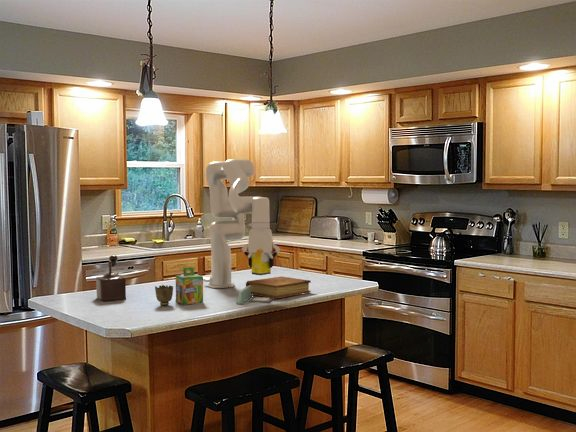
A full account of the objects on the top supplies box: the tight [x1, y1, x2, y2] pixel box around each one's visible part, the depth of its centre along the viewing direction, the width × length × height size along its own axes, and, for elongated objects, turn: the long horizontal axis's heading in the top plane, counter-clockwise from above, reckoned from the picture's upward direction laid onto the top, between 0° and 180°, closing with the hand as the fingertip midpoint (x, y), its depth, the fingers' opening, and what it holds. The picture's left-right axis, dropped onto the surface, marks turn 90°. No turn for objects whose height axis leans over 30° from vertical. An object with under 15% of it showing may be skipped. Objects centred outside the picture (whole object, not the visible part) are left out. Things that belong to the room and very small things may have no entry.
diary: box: [245, 276, 311, 299], centre depth 290 cm, size 23×19×6 cm
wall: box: [235, 285, 254, 305], centre depth 275 cm, size 3×17×5 cm, turn 169°
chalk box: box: [175, 266, 204, 306], centre depth 270 cm, size 9×9×15 cm
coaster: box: [248, 296, 274, 304], centre depth 274 cm, size 9×9×1 cm
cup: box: [154, 284, 174, 307], centre depth 264 cm, size 8×7×8 cm
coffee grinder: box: [95, 254, 127, 302], centre depth 281 cm, size 16×11×18 cm
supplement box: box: [251, 249, 272, 276], centre depth 273 cm, size 6×6×11 cm
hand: (261, 267), depth 273 cm, fingers closed on supplement box, 8 cm apart
